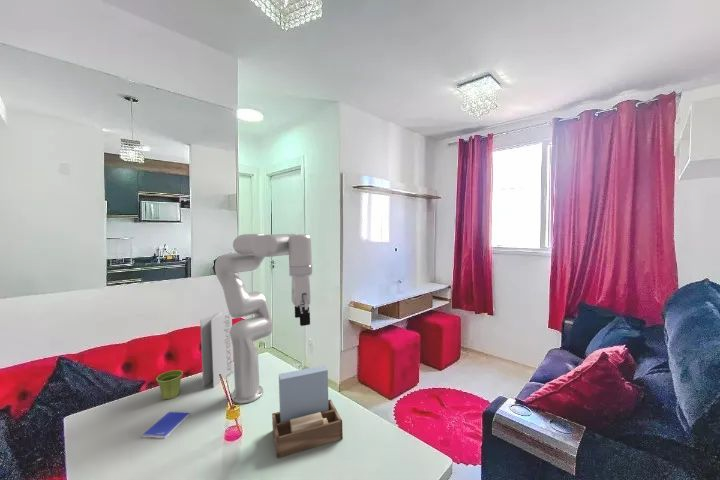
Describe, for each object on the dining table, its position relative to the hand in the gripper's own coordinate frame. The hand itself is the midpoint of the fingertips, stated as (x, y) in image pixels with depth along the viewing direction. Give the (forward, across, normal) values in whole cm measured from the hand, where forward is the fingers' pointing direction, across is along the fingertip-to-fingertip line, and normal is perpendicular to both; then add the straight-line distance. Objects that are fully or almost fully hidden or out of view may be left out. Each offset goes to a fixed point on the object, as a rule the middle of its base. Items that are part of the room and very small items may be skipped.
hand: (302, 320), depth 101 cm
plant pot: (+38, -44, -48) cm, 75 cm away
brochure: (+38, -51, -30) cm, 70 cm away
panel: (+38, 0, 0) cm, 38 cm away
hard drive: (+38, -22, -45) cm, 63 cm away
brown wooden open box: (+38, +3, 0) cm, 38 cm away
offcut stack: (+38, +6, 0) cm, 38 cm away
